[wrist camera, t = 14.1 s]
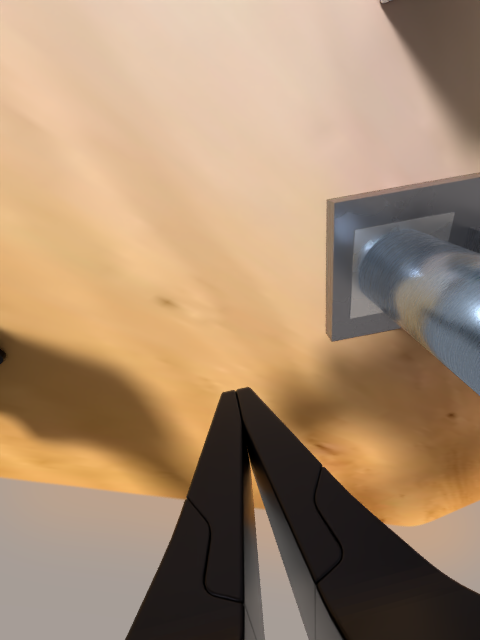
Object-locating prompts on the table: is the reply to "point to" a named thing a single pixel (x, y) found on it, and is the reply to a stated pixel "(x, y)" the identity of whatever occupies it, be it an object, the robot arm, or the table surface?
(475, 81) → the table surface
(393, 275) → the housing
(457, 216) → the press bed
